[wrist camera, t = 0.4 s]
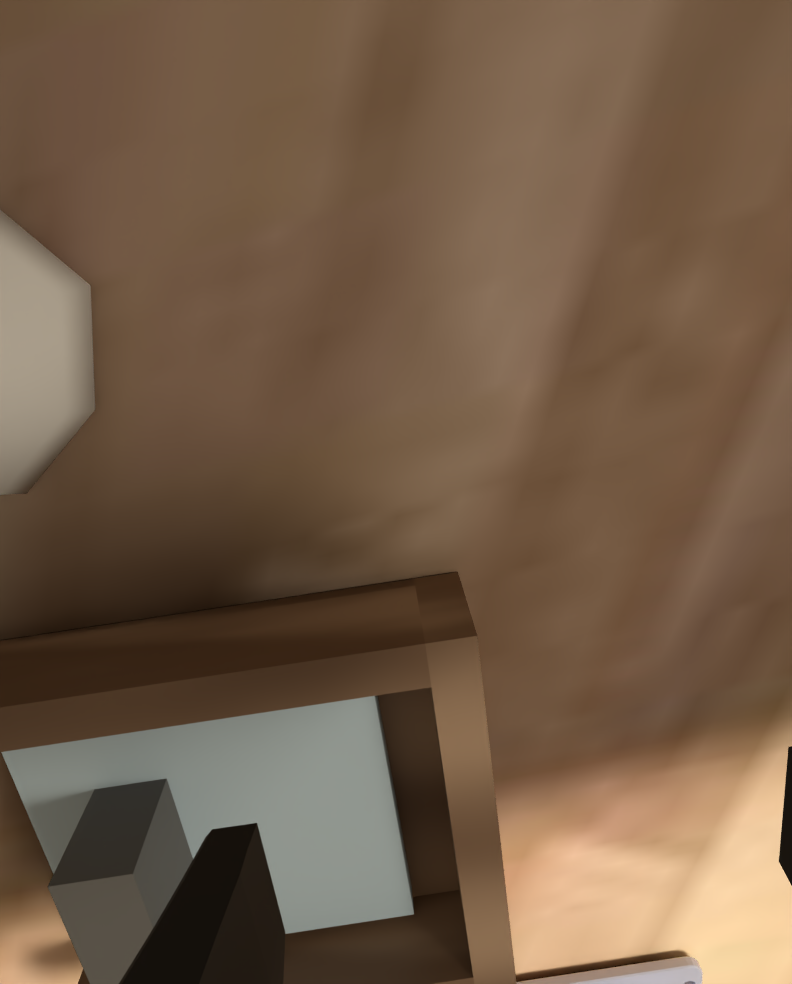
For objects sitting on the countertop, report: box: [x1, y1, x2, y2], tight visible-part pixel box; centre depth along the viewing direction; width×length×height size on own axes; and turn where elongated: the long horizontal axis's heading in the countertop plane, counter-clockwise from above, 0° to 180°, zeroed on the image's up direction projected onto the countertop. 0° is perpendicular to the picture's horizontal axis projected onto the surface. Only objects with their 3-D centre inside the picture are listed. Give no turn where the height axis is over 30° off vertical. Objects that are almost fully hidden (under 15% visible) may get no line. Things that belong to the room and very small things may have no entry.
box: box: [0, 572, 516, 984], centre depth 19 cm, size 12×13×3 cm
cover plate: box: [1, 695, 414, 984], centre depth 18 cm, size 9×10×4 cm
